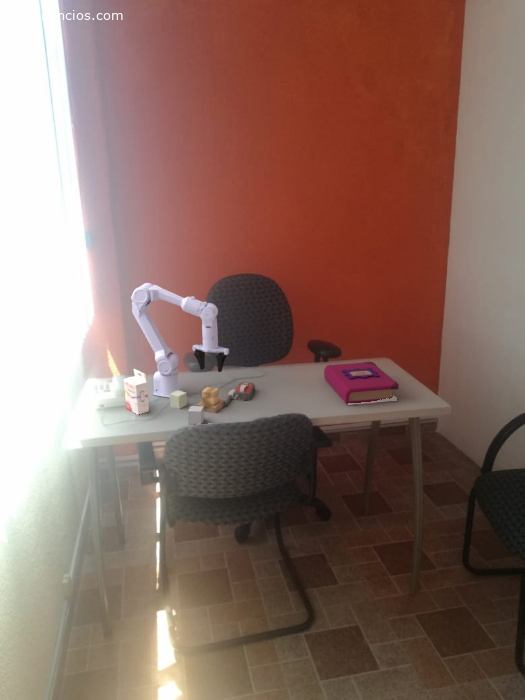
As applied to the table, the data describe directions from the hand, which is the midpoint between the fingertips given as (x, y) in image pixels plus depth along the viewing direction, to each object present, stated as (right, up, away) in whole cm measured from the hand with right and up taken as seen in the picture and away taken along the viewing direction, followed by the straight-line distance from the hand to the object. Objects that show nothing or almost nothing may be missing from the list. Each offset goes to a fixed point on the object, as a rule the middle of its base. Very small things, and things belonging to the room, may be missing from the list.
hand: (211, 370), depth 213 cm
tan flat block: (0, -14, -8) cm, 16 cm away
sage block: (-12, -13, -6) cm, 19 cm away
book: (+58, -9, +7) cm, 59 cm away
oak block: (+1, -12, -9) cm, 15 cm away
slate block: (-3, -17, -20) cm, 27 cm away
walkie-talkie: (+11, -11, +1) cm, 16 cm away
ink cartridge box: (-26, -14, -10) cm, 31 cm away
